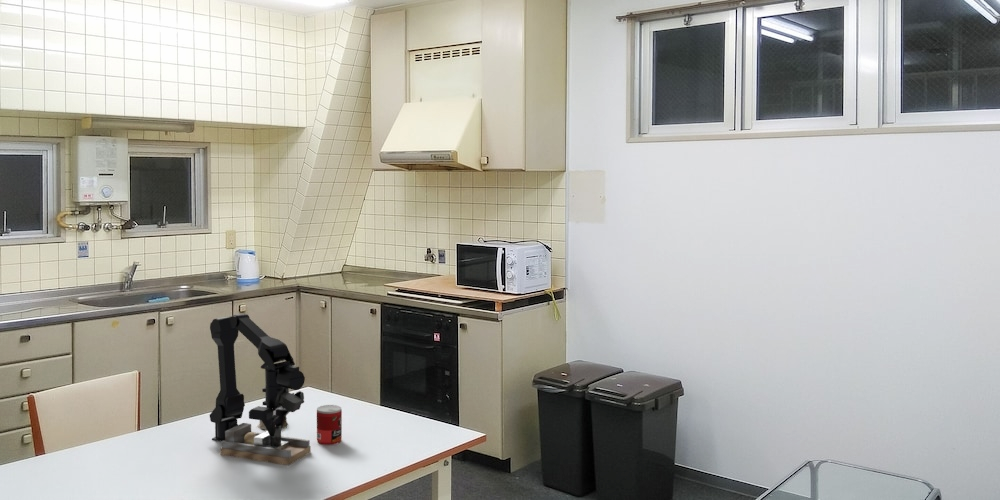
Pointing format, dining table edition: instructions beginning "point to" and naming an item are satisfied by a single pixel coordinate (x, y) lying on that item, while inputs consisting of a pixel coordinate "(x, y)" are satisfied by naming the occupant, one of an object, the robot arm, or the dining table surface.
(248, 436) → the tan rounded piece
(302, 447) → the press base
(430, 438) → the dining table surface
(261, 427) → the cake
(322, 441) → the canned food
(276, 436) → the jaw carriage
